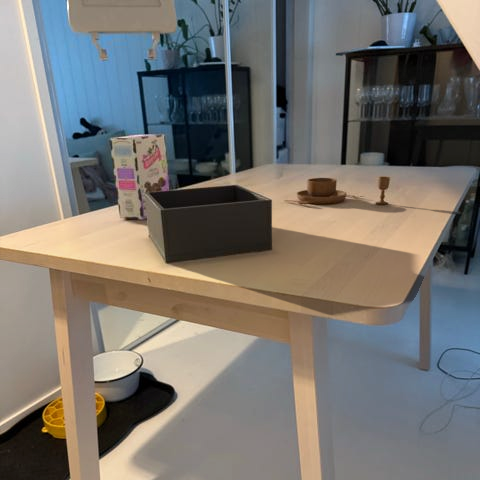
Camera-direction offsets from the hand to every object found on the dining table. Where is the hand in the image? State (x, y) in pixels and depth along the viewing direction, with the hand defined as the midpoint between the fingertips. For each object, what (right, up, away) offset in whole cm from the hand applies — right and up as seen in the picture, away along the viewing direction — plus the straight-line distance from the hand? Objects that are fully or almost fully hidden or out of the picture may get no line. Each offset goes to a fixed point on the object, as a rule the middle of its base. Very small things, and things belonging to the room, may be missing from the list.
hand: (128, 60), depth 91 cm
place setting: (+44, -24, +18) cm, 54 cm away
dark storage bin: (+16, -38, -11) cm, 43 cm away
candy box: (+1, -28, +13) cm, 31 cm away
